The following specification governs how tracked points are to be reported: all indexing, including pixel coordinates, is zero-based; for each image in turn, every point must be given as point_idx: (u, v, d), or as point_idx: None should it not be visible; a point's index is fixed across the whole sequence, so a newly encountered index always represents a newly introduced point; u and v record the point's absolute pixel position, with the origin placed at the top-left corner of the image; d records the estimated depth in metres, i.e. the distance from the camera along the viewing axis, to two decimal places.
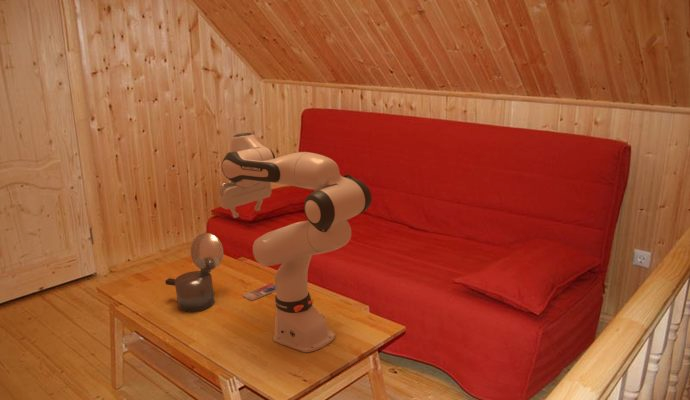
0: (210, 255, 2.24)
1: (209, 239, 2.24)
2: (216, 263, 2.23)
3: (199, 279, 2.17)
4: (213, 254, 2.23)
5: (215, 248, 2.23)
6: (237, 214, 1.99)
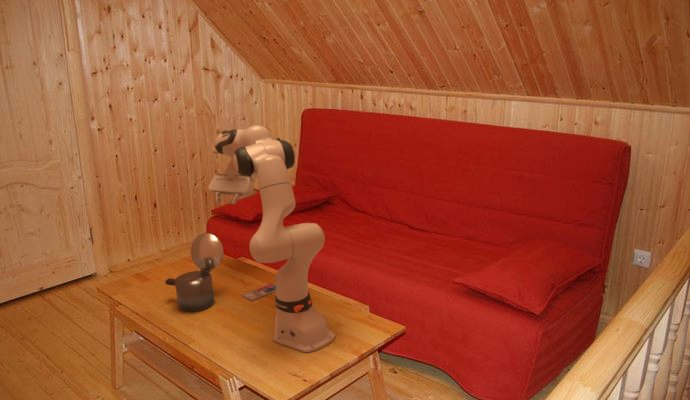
0: (210, 255, 2.24)
1: (209, 239, 2.24)
2: (216, 263, 2.23)
3: (199, 279, 2.17)
4: (213, 254, 2.23)
5: (215, 248, 2.23)
6: (218, 198, 2.36)
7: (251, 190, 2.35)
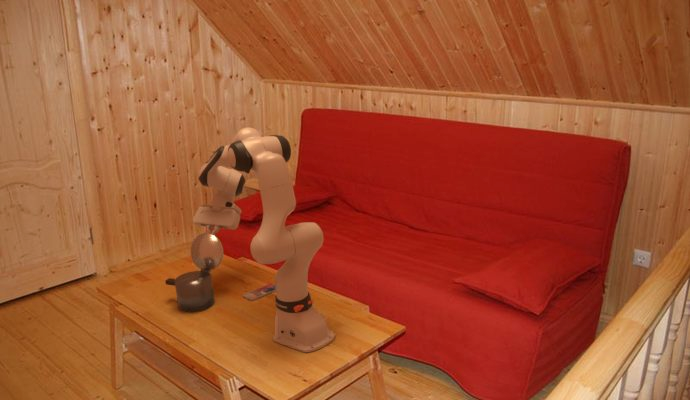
0: (210, 255, 2.24)
1: (209, 239, 2.24)
2: (216, 263, 2.23)
3: (199, 279, 2.17)
4: (213, 254, 2.23)
5: (215, 248, 2.23)
6: (209, 232, 2.26)
7: (237, 223, 2.26)
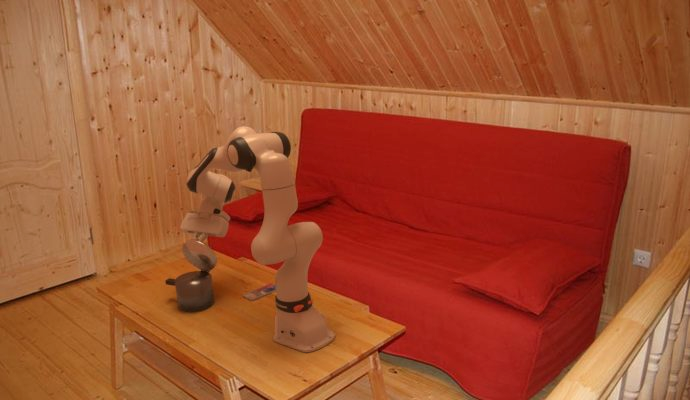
0: (204, 259, 2.21)
1: (197, 246, 2.17)
2: (213, 265, 2.21)
3: (199, 279, 2.17)
4: (206, 258, 2.20)
5: (206, 253, 2.18)
6: None
7: (225, 230, 2.19)
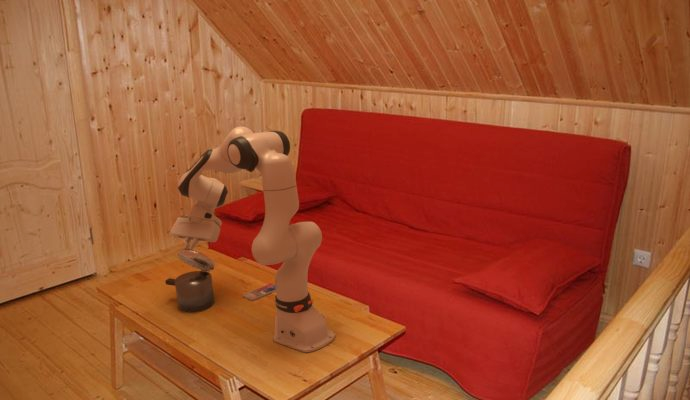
0: (201, 263, 2.19)
1: (192, 255, 2.15)
2: (211, 267, 2.20)
3: (199, 279, 2.17)
4: (203, 263, 2.18)
5: (202, 260, 2.16)
6: (187, 245, 2.14)
7: (217, 235, 2.14)
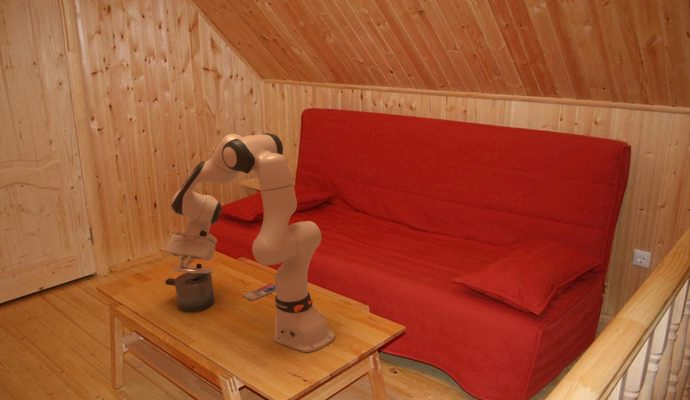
0: None
1: None
2: None
3: (199, 279, 2.17)
4: None
5: None
6: (181, 263, 2.12)
7: (212, 254, 2.12)
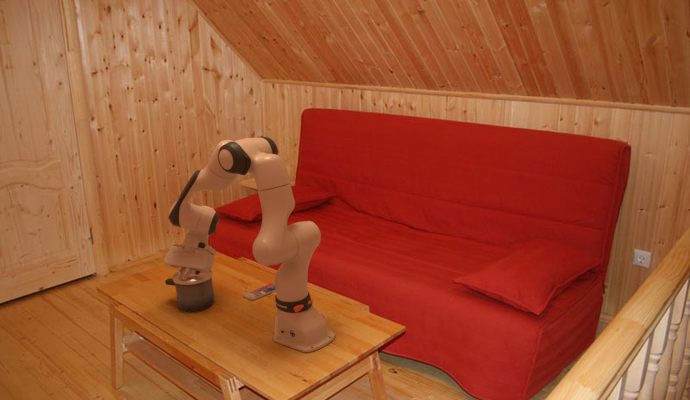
0: None
1: None
2: None
3: None
4: None
5: None
6: (180, 275, 2.12)
7: (210, 265, 2.12)
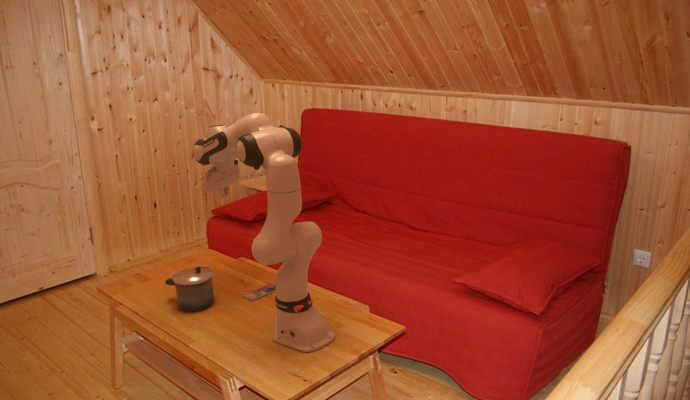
0: None
1: None
2: None
3: None
4: None
5: None
6: (225, 194, 2.30)
7: None
